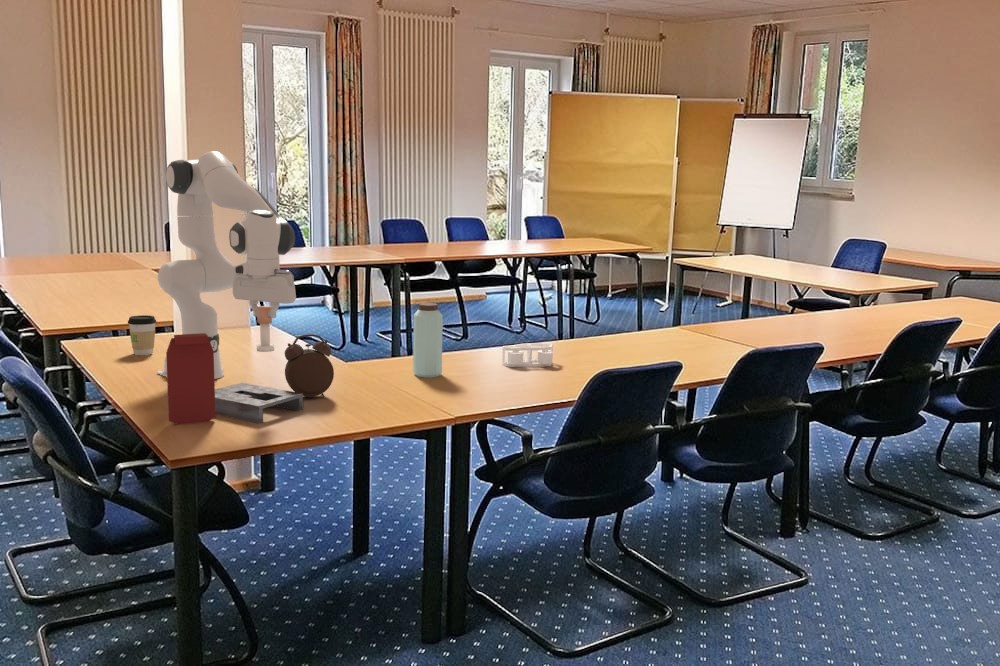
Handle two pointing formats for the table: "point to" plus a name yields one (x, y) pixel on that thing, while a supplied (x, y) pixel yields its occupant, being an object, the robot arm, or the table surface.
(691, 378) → the table surface
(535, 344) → the white double holder
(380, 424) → the table surface
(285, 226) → the robot arm
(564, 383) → the table surface
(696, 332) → the table surface
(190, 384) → the carton
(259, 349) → the peg
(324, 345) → the alarm clock
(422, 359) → the water bottle
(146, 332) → the coffee cup
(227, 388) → the keyhole board
